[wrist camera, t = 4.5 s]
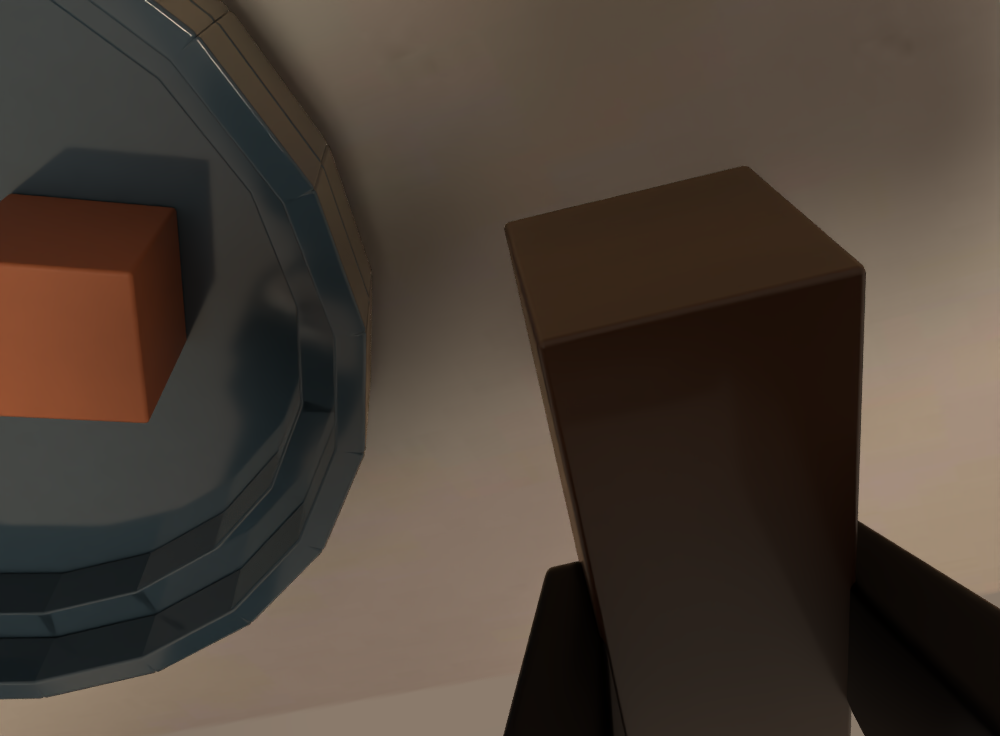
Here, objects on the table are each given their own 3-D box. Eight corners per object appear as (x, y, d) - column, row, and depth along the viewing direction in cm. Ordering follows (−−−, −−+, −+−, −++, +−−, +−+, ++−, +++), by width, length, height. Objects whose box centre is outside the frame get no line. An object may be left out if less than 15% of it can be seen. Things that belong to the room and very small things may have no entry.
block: (187, 341, 17) (148, 424, 15) (34, 331, 17) (-33, 416, 14) (177, 206, 16) (131, 272, 13) (8, 191, 15) (-73, 257, 13)
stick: (773, 682, 12) (849, 849, 10) (614, 717, 12) (656, 891, 10) (747, 162, 8) (869, 266, 6) (502, 221, 8) (536, 344, 6)
